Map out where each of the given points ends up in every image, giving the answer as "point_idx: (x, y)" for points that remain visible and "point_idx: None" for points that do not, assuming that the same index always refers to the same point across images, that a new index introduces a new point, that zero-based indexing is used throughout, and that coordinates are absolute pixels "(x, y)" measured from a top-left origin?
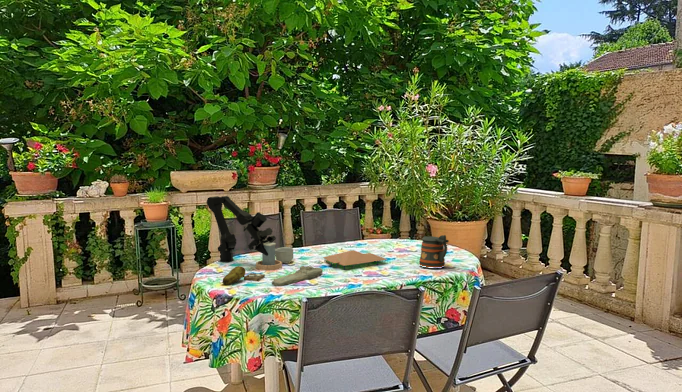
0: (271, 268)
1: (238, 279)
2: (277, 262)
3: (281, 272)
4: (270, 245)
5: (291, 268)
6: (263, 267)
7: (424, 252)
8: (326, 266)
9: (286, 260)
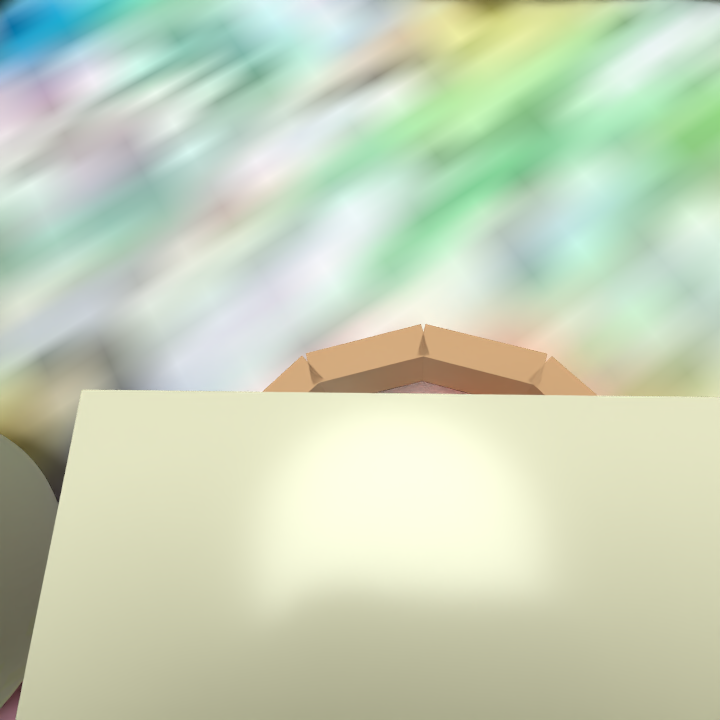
0: None
1: None
2: None
3: (524, 248)
4: (707, 413)
5: (267, 262)
6: None
7: None
8: (16, 16)
9: (31, 459)
